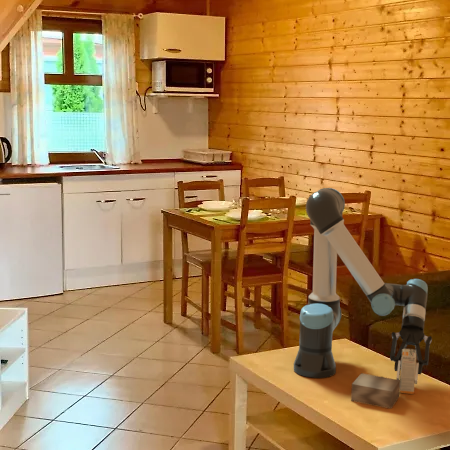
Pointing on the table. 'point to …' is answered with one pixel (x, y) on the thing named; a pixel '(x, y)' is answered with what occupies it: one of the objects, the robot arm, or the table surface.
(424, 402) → the table surface
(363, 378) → the walnut block
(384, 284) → the robot arm
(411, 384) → the supplement box
